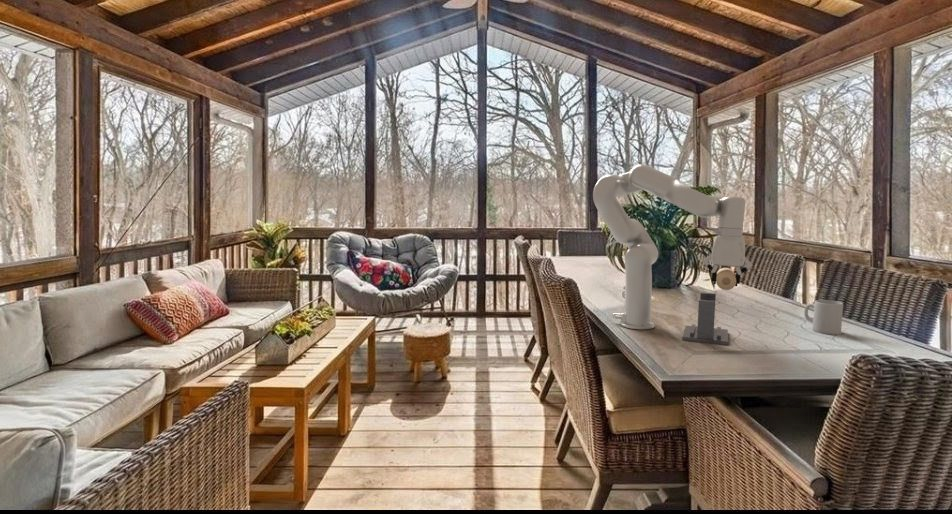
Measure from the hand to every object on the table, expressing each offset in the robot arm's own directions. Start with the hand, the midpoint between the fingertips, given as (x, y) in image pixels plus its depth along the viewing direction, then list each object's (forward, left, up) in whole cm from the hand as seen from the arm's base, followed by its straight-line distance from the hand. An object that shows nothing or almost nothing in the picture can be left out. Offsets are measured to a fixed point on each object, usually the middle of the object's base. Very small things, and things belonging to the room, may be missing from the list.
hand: (725, 284), depth 172 cm
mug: (+33, +25, -19) cm, 46 cm away
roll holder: (-5, -2, -19) cm, 20 cm away
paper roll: (0, 0, -1) cm, 1 cm away
